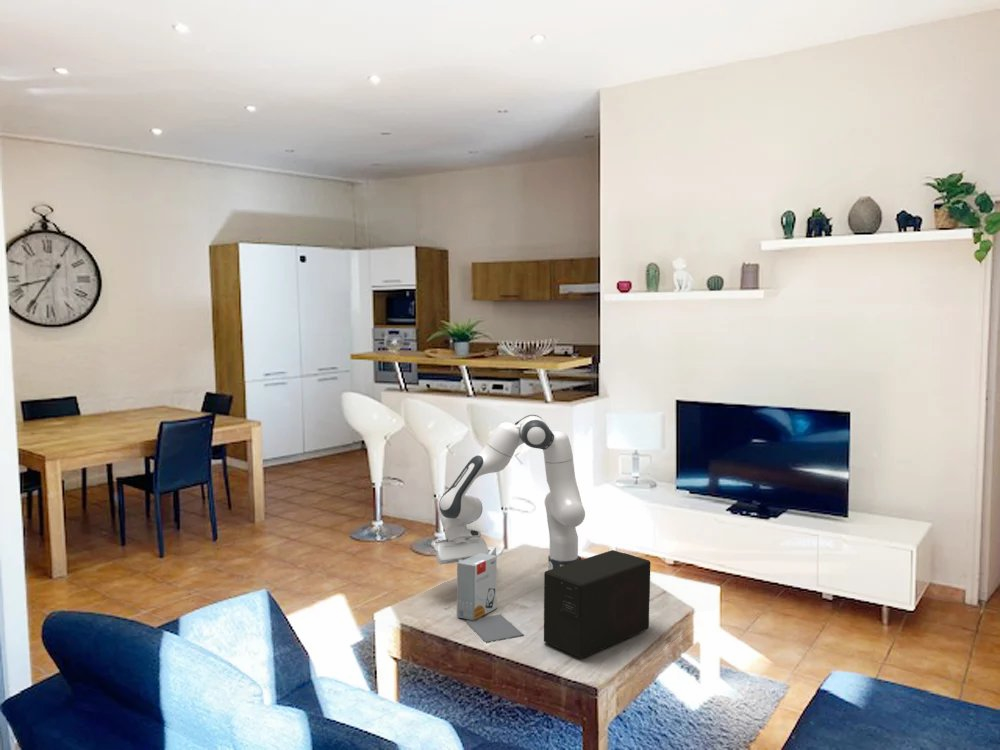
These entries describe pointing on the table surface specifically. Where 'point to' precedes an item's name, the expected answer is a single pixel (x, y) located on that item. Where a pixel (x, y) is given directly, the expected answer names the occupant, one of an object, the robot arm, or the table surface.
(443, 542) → the robot arm
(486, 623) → the mat
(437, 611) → the table surface
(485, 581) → the hard drive box
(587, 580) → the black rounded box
